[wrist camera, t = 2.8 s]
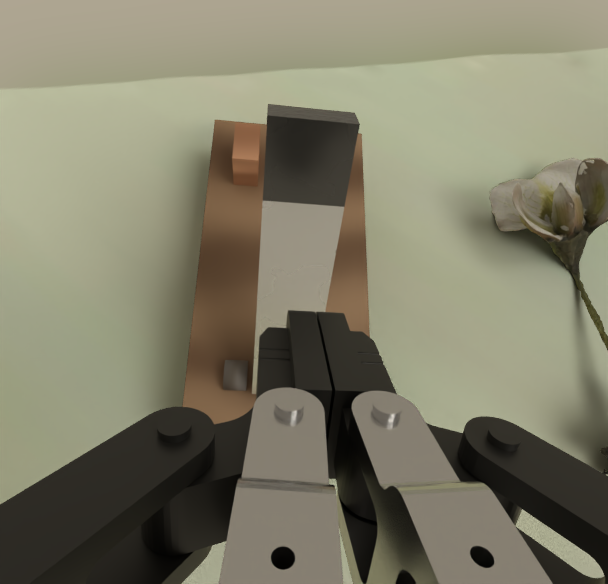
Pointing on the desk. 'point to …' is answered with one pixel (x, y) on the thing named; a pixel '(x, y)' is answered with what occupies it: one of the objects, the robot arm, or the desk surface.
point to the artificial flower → (559, 213)
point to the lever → (301, 210)
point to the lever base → (253, 271)
